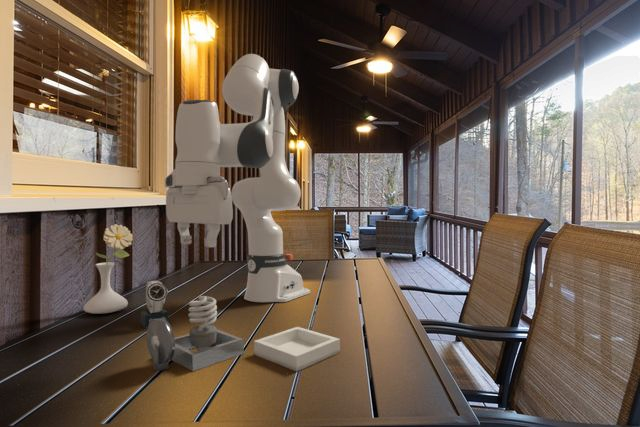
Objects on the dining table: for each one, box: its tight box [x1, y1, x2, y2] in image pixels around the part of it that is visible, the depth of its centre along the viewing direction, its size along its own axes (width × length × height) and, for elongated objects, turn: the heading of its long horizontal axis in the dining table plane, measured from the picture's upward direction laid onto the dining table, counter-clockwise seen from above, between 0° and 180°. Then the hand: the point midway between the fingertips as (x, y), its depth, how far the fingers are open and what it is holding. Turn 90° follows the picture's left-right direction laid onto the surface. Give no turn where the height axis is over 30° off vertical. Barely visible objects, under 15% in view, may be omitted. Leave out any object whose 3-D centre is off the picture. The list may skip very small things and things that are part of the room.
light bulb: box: [187, 295, 218, 352], centre depth 82 cm, size 6×6×12 cm
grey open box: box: [146, 318, 245, 372], centre depth 80 cm, size 16×12×9 cm
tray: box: [253, 326, 341, 372], centre depth 82 cm, size 12×12×3 cm
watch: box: [140, 280, 169, 329], centre depth 103 cm, size 6×8×11 cm
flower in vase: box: [82, 223, 133, 315], centre depth 116 cm, size 13×11×25 cm
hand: (197, 245), depth 83 cm, fingers open, 8 cm apart
